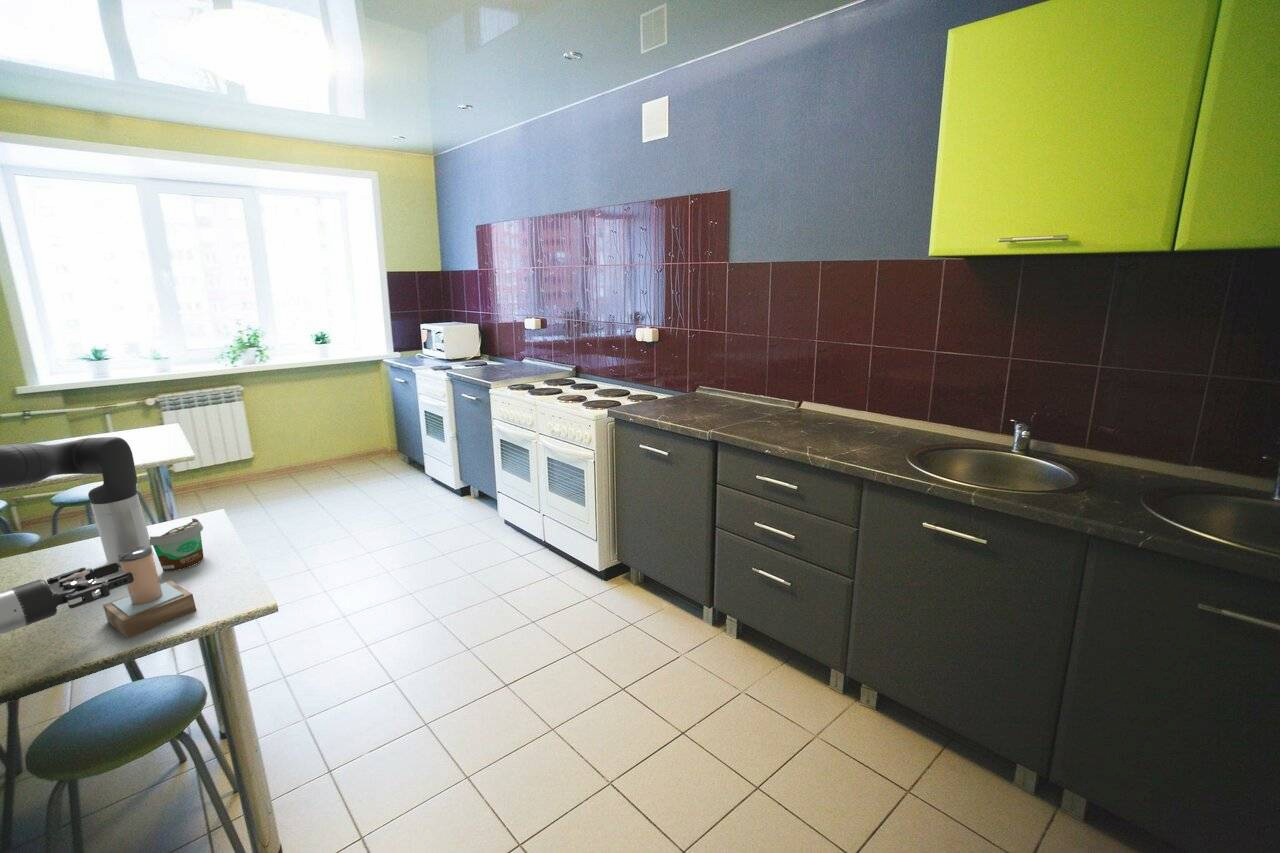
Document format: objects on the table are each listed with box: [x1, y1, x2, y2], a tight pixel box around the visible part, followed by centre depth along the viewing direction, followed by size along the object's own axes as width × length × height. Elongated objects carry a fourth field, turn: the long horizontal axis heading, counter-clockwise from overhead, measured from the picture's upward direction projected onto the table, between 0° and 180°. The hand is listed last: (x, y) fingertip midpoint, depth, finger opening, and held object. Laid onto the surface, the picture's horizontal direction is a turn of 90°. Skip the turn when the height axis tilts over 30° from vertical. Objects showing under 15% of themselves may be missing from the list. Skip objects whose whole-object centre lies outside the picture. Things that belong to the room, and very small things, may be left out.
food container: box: [149, 518, 204, 572], centre depth 149 cm, size 12×6×10 cm, turn 168°
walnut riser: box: [102, 580, 197, 639], centre depth 126 cm, size 12×12×4 cm
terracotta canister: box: [118, 546, 163, 605], centre depth 124 cm, size 5×5×11 cm
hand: (125, 571), depth 121 cm, fingers open, 8 cm apart
